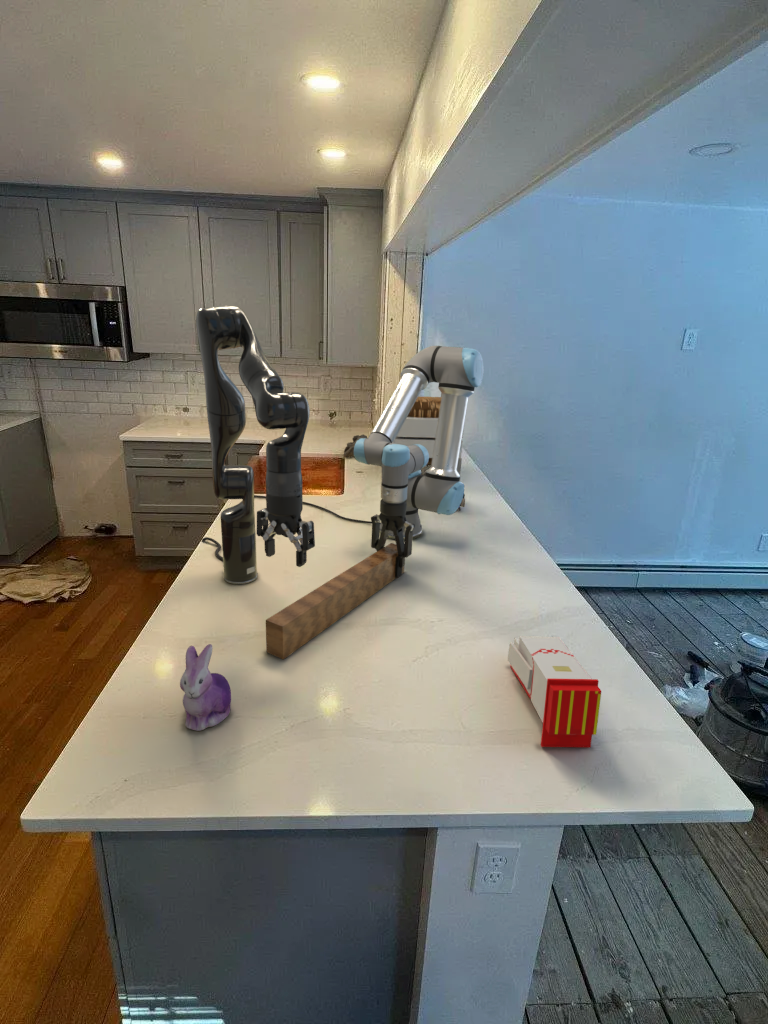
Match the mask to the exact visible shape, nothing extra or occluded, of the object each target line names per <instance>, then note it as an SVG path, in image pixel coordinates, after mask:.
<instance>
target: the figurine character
mask: <svg viewBox="0 0 768 1024" xmlns="http://www.w3.org/2000/svg"><path fill="white" fill-rule="evenodd" d="M465 496H466V494H465V493H464V495H463V499H462V501H461V504H460V506H459V507H458V509H457V510H458V511H461V510H462V509H461V508H465V505H466V497H465Z"/></svg>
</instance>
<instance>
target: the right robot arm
mask: <svg viewBox="0 0 768 1024" xmlns="http://www.w3.org/2000/svg"><path fill="white" fill-rule="evenodd" d="M484 369H485V368H484V360H483V356H482V354H481V352H480V351H479V350H477V349H475V348H471V347H466V346H465V347H464V346H463V347H461V346H445V345H430V346H428V347H425V348H423V349H421V350H419V351H418V352H417V353H416V354H414V355H413V356H412V357H411V358H410V359H408V361H407V363H405V365H404V366H403V368H402V370H401V372H400V375H399V376H400V380H399V382H398V383H397V385H396V386H395V388H394V390H393V393H391V394H392V395H391V396H390V398H389V400H388V402H387V403H386V405H385V407H384V409H383V411H381V412H382V413H381V414H380V416H379V418H378V420H377V421H376V423H375V425H374V427H373V428H372V431H371V432H370V434H369V435H368V436H367V438H360V439H359V440H357V442H356V443H355V446H354V456H353V457H354V459H355V461H357V462H358V463H362V464H365V465H368V466H375V467H380V468H381V482H380V500H379V501H380V503H379V512H380V513H379V514H376V513H375V514H374V515H372V516H371V517H370V520H369V521H368V520H362V519H354V518H349V517H345V516H342V515H340V514H338V513H336V512H334V511H332V510H331V509H328V508H326V507H323V506H320V505H317V504H314V503H311V502H306V501H303V505H307V506H311V507H314V508H317V509H320V510H323V511H324V512H327V513H330V514H332V515H334V516H336V517H337V518H340V519H342V520H346V521H350V522H356V523H363V524H369V525H371V539H370V547H371V549H375V550H376V552H377V551H379V550H380V549H382V548H384V547H385V546H386V542H387V539H389V540H395V544H396V545H397V551H398V556H397V557H396V566H395V578H396V579H398V578H399V577H401V576H402V575H403V573H402V567H404V568H405V564H406V558H408V557H410V556H411V555H412V553H413V540H415V539H418V538H420V537H421V536H422V535H423V525H422V524H421V518H420V515H419V510H421V511H426V512H429V513H436V514H438V515H445V516H451V515H453V514H455V513H456V512H457V510H459V509H458V507H459V506H460V504H461V501H462V499H463V495H464V494H465V484H464V483H463V482H462V481H461V474H460V475H459V473H458V472H457V465H458V458H459V452H460V446H461V440H462V439H463V438H462V433H463V434H464V432H463V427H464V428H465V421H466V414H467V408H468V403H469V401H468V400H469V397H470V396H472V395H474V393H475V388H478V387H480V386H481V385H482V382H483V380H484V379H483V378H484ZM430 383H438V387H437V388H438V390H439V391H440V393H442V398H441V404H440V411H439V417H438V424H437V430H436V437H435V444H434V450H433V457H432V463H431V465H430V466H429V468H427V469H426V470H425V473H424V474H422V469H423V468H424V467H427V466H426V465H427V463H428V461H429V453H428V451H427V449H426V448H425V447H424V446H422V445H420V444H413V445H410V446H406V445H400V444H394V443H393V442H394V440H395V438H396V437H397V435H398V433H399V431H400V429H401V427H402V425H403V423H404V422H405V420H406V418H407V416H408V414H409V412H410V410H411V409H412V407H413V405H414V403H415V401H416V399H417V397H419V395H420V394H421V392H422V391H424V390H425V389H426V388H427V387H428V385H429V384H430ZM462 441H463V440H462ZM254 498H259V499H260V498H261V499H266V495H255V494H254ZM460 507H461V506H460Z"/></svg>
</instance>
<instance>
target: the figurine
mask: <svg viewBox="0 0 768 1024" xmlns="http://www.w3.org/2000/svg"><path fill="white" fill-rule="evenodd" d="M213 649H214V648H213V645H212V644H211V643H208V644H206V646H204V648H203V649H202V651H201V652H200V653H199V655H198V651H197V650H196V647H195V646H194V645H190V646H188V647H187V648H186V652H185V659H184V660H185V669H184V672H183V673H182V675H181V678H180V681H179V687H180V690H181V691H182V692H183V693H184V694H183V697H182V705H183V708H184V711H185V714H186V718H185V722H184V723H185V727H186V728H187V729H189V730H194V731H198V732H199V731H204V730H205V729H207V728H213V727H215V726H217V725H219V724H220V723H221V722H222V721H224V720H225V719H227V717H229V715H230V712H231V705H232V689H231V686H230V683H229V681H228V679H227V678H226V677H225V676H224V675H222V674H221V673H219V672H218V673H217V672H212V673H211V671H210V669H209V665H210V662H211V658H212V654H213Z"/></svg>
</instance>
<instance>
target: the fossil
mask: <svg viewBox="0 0 768 1024" xmlns="http://www.w3.org/2000/svg"><path fill="white" fill-rule="evenodd" d="M360 438H368V436H367V435H365V434H361V435H359V434H356V435H353V437H352V441H350V442H347V443H346V446H345V448H344V450H343V457H344V458H348V459H349V458H351V457H354V446H355V443H356V442H357V440H359V439H360Z"/></svg>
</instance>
